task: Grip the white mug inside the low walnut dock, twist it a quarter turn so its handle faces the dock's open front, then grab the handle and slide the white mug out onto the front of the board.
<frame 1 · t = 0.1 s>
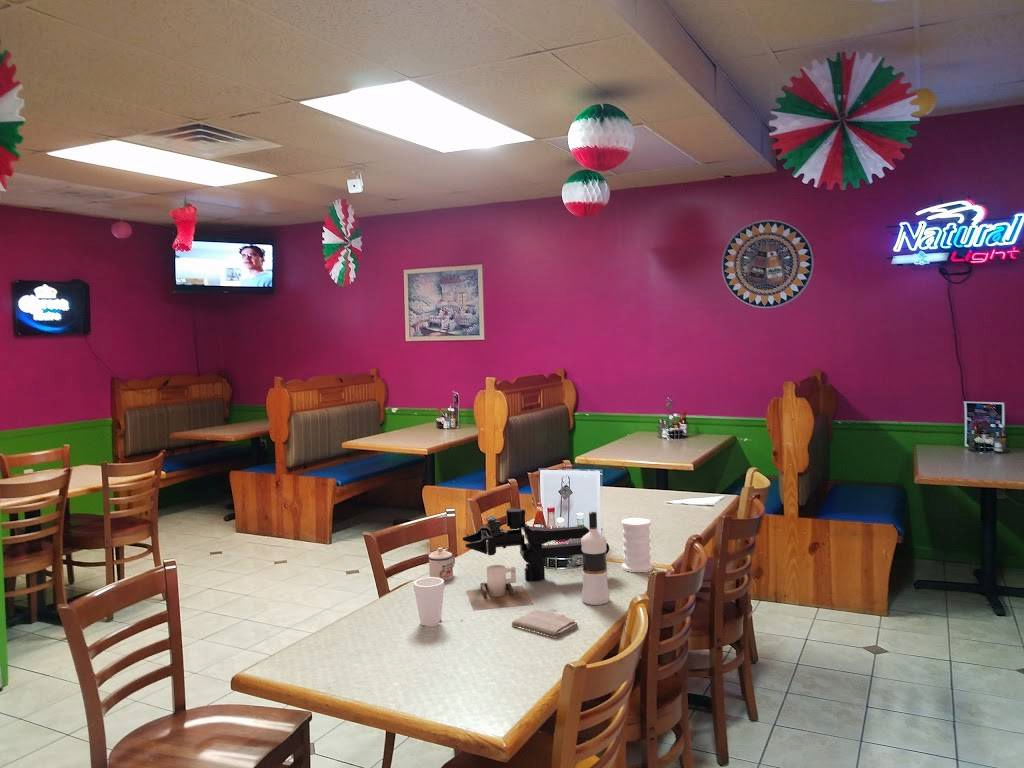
hand: (464, 542, 270), 17 cm above the table, tool horizontal, fingers open, 9 cm apart
teacup with lid: (444, 578, 284), on the table
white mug: (497, 593, 261), point 1 cm above the table, touching dock
washcloth: (545, 628, 232), on the table
vodka: (595, 601, 253), on the table
foam cup: (430, 623, 239), on the table
dock: (498, 600, 257), on the table
decorative container: (637, 568, 286), on the table
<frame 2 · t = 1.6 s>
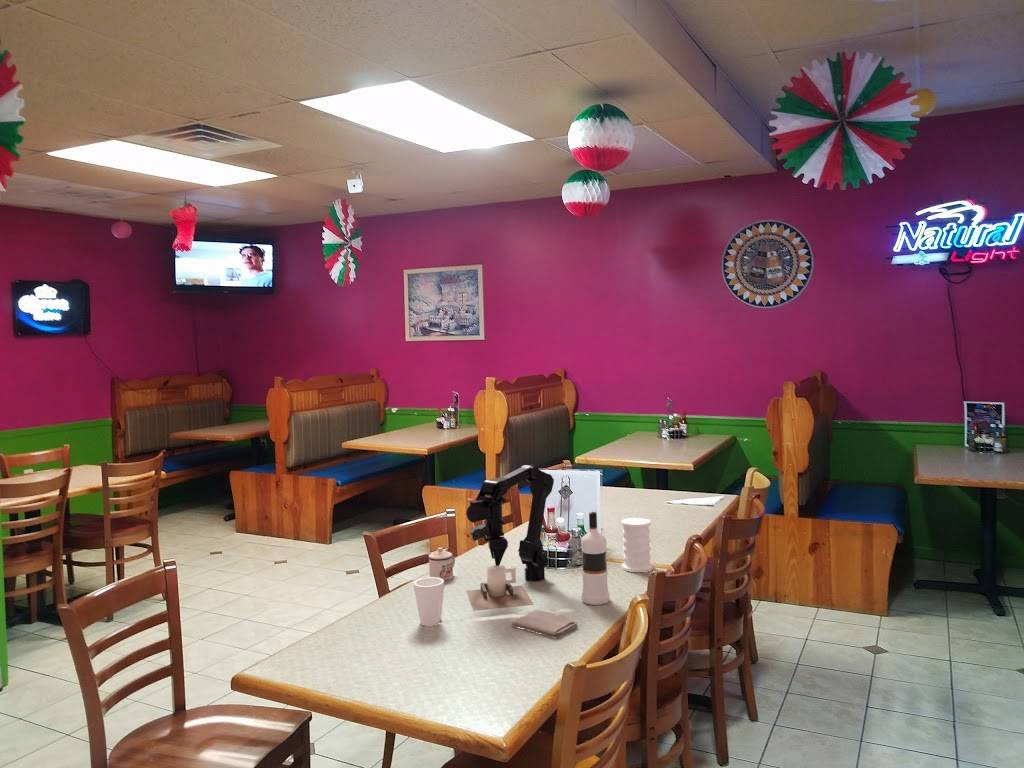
hand: (495, 562, 260), 12 cm above the table, tool pointing down, fingers open, 9 cm apart
nothing on the table moved.
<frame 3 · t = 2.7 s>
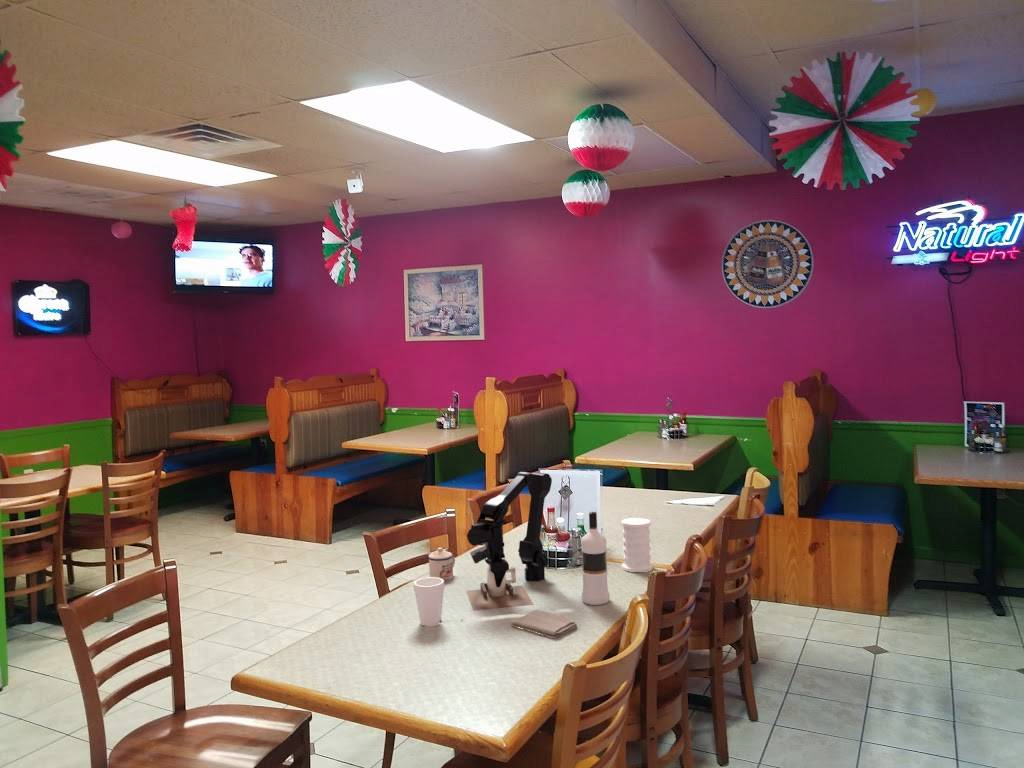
hand: (496, 584, 261), 4 cm above the table, tool pointing down, fingers closed on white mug, 6 cm apart
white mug: (497, 593, 261), point 1 cm above the table, touching dock, gripper
everything else where it was.
when the fingers open (4 cm above the table, at t = 5.4 s): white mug stays where it is, resting on dock.
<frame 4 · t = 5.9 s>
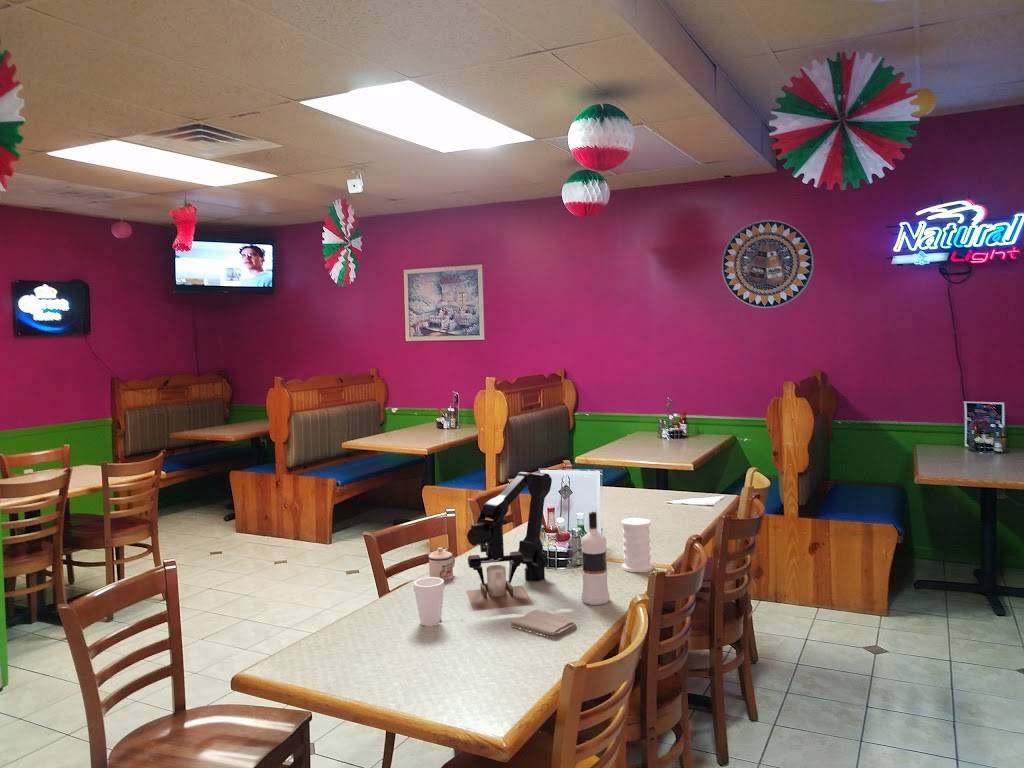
hand: (496, 584, 261), 4 cm above the table, tool pointing down, fingers open, 9 cm apart
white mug: (497, 593, 261), point 1 cm above the table, touching dock
everything else where it was.
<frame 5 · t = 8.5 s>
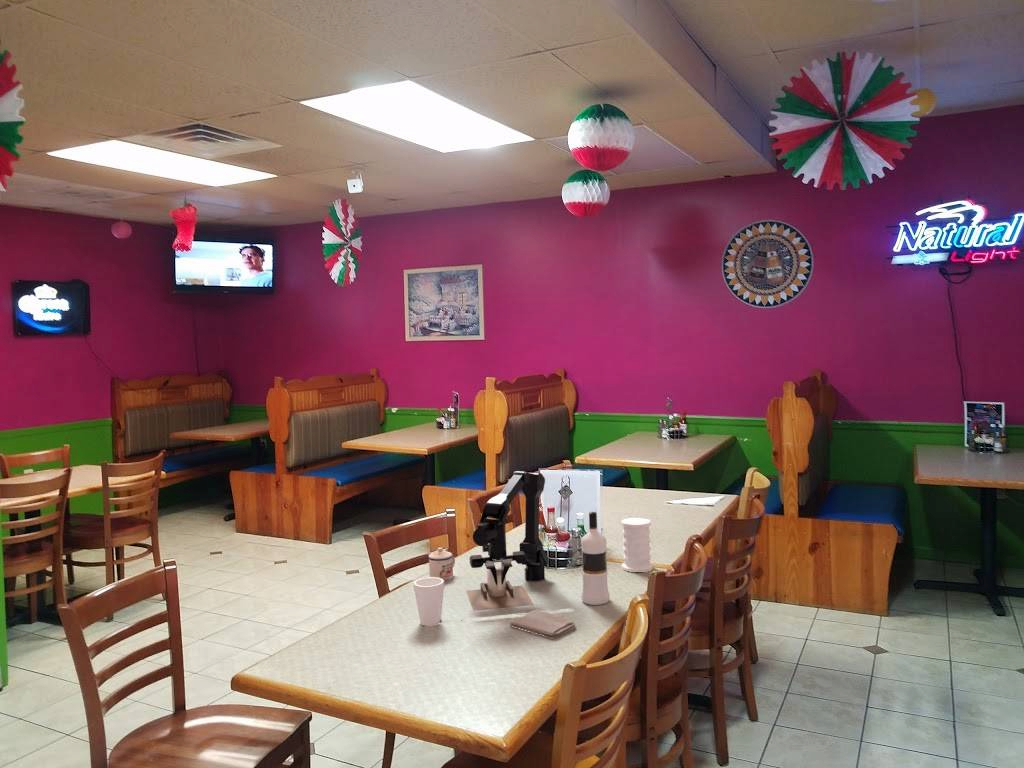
hand: (499, 584, 255), 6 cm above the table, tool pointing down, fingers closed on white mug
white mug: (497, 593, 261), point 1 cm above the table, touching dock, gripper
everything else where it was.
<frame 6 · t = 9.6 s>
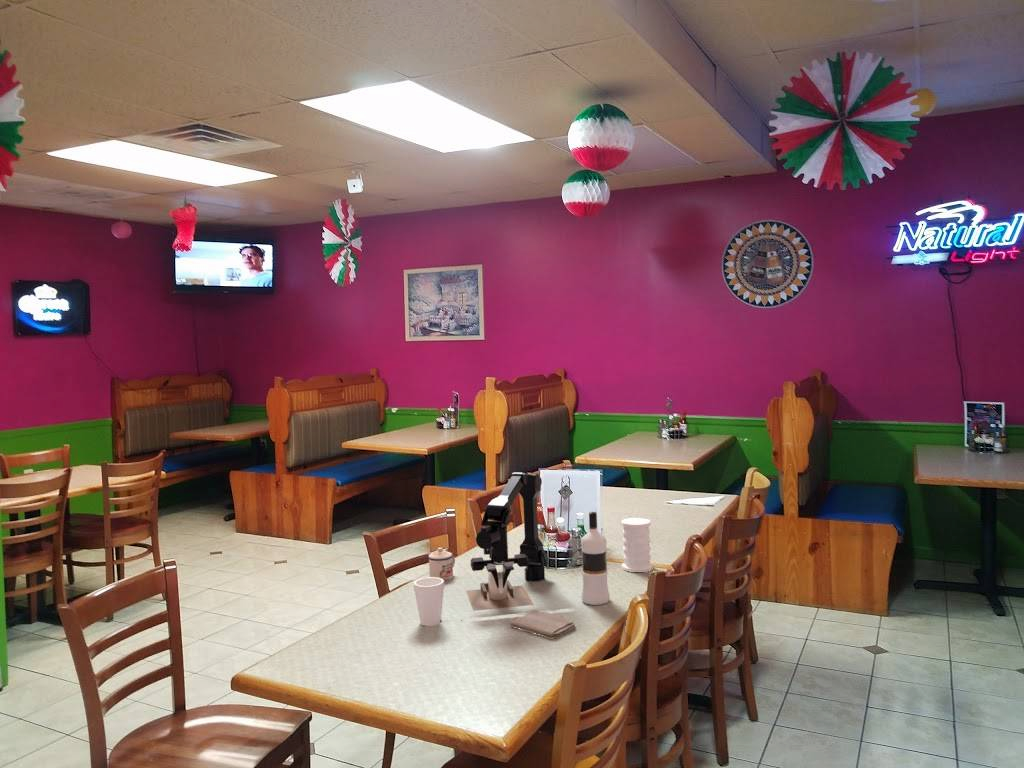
hand: (500, 587, 251), 6 cm above the table, tool pointing down, fingers closed on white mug
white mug: (498, 596, 258), point 1 cm above the table, touching gripper
everything else where it was.
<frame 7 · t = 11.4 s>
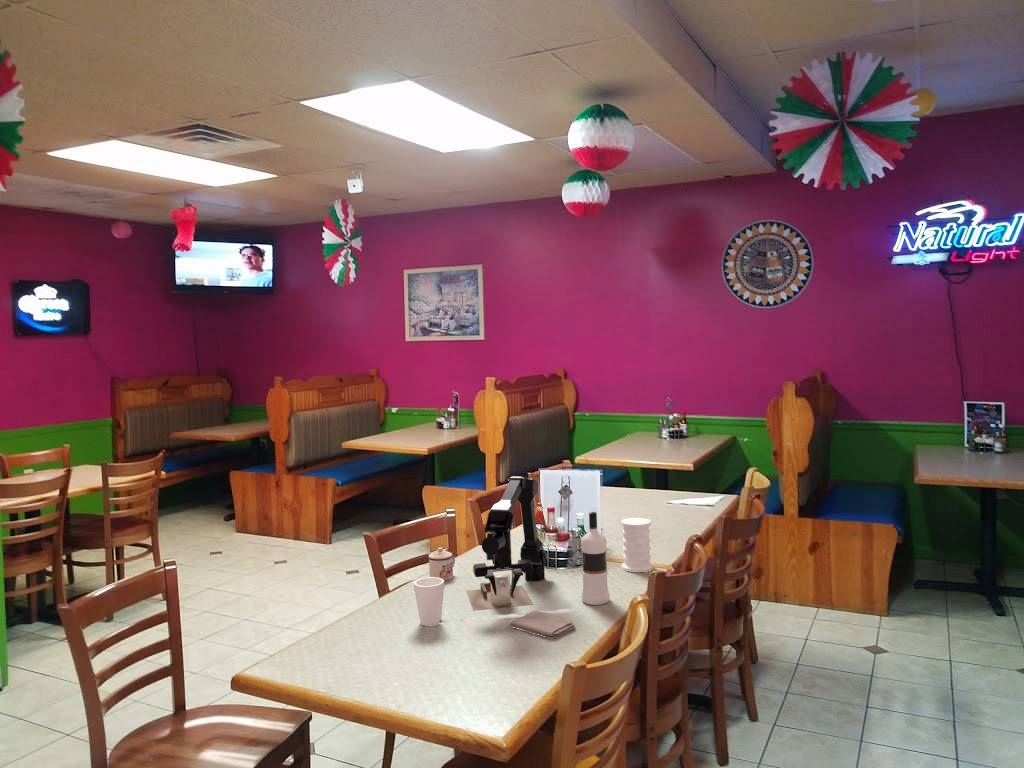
hand: (503, 594, 245), 6 cm above the table, tool pointing down, fingers open, 5 cm apart
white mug: (501, 602, 252), point 1 cm above the table, touching dock
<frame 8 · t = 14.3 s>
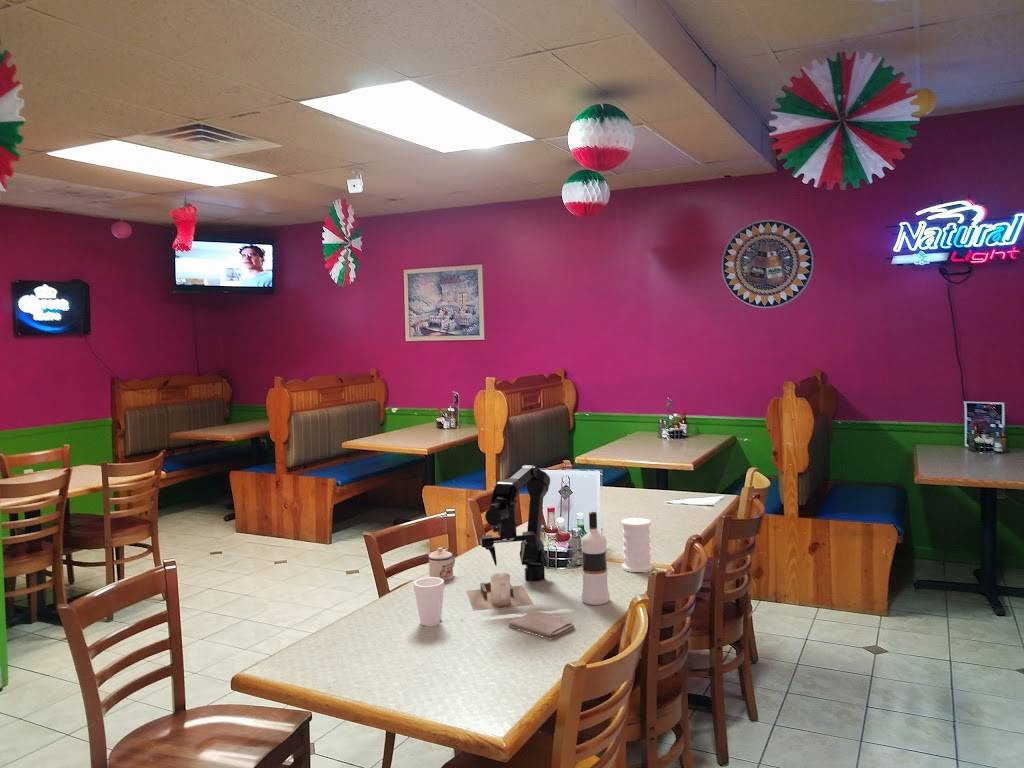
hand: (509, 564, 257), 12 cm above the table, tool pointing down, fingers open, 9 cm apart
at the end: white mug inside the target area (2.0 cm from its centre), point 1.0 cm above the table; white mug tilted 0°; the gripper is holding nothing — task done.
